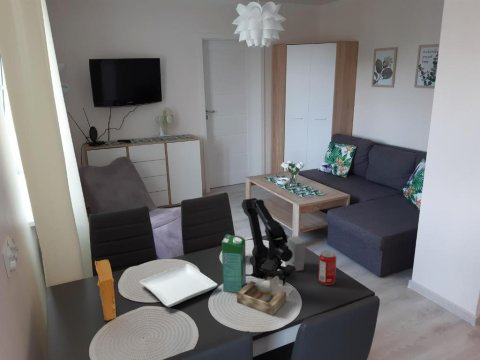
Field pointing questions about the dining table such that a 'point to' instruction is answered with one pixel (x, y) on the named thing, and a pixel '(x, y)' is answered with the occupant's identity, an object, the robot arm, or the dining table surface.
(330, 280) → the red food canister
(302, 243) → the skincare box
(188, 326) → the dining table surface
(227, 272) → the milk carton
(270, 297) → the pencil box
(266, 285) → the lid
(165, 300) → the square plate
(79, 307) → the dining table surface
